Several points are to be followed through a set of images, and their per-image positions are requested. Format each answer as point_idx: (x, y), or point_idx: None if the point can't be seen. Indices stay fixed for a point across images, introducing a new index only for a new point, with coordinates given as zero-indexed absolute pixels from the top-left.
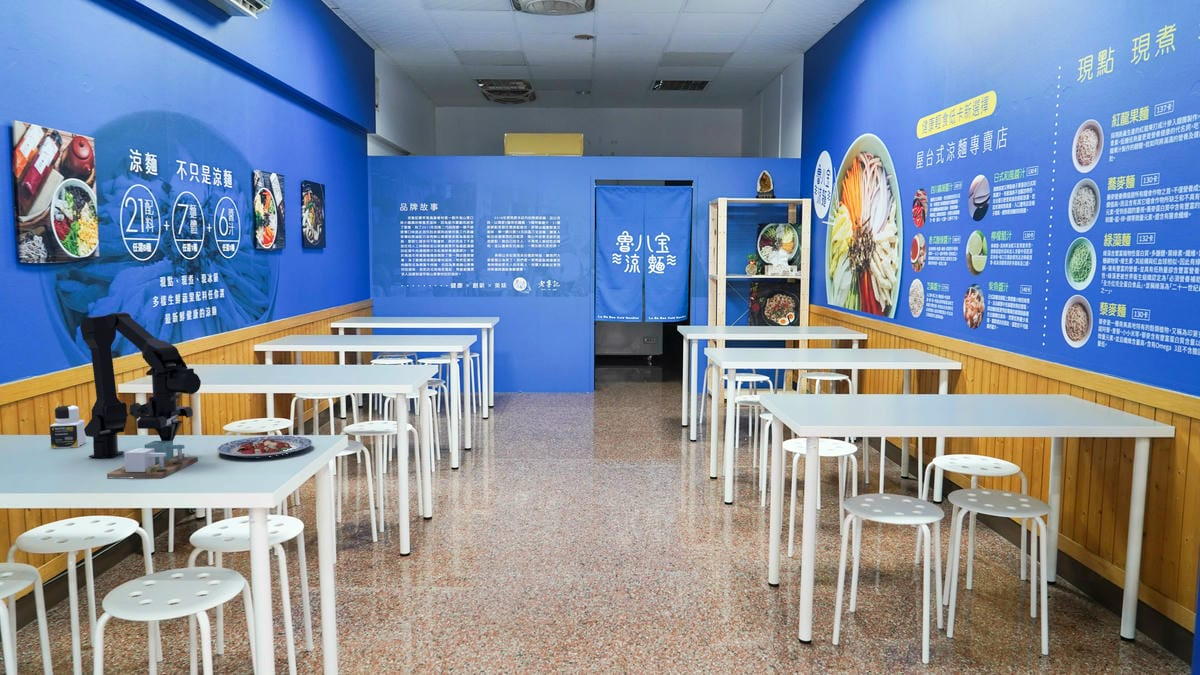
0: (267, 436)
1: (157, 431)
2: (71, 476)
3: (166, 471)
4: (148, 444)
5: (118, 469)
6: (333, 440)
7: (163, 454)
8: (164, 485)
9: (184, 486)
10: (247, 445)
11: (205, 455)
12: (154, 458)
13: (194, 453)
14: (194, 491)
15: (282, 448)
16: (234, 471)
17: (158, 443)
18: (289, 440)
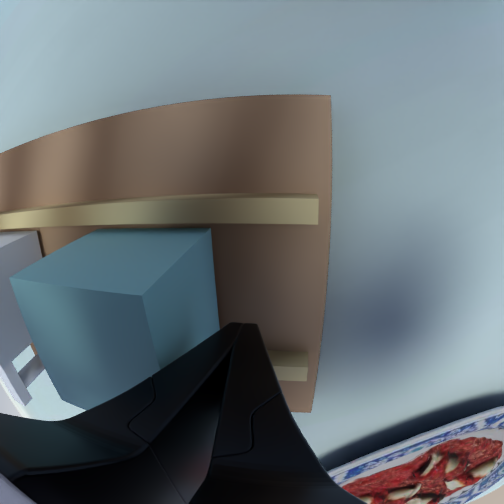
0: None
1: (71, 421)
2: (25, 7)
3: None
4: (23, 304)
5: (18, 154)
6: (470, 500)
7: (15, 397)
8: (20, 367)
9: (37, 402)
10: (427, 480)
11: (431, 376)
12: (31, 340)
13: (491, 306)
14: (32, 416)
15: None
16: None
17: (70, 367)
18: (479, 483)
